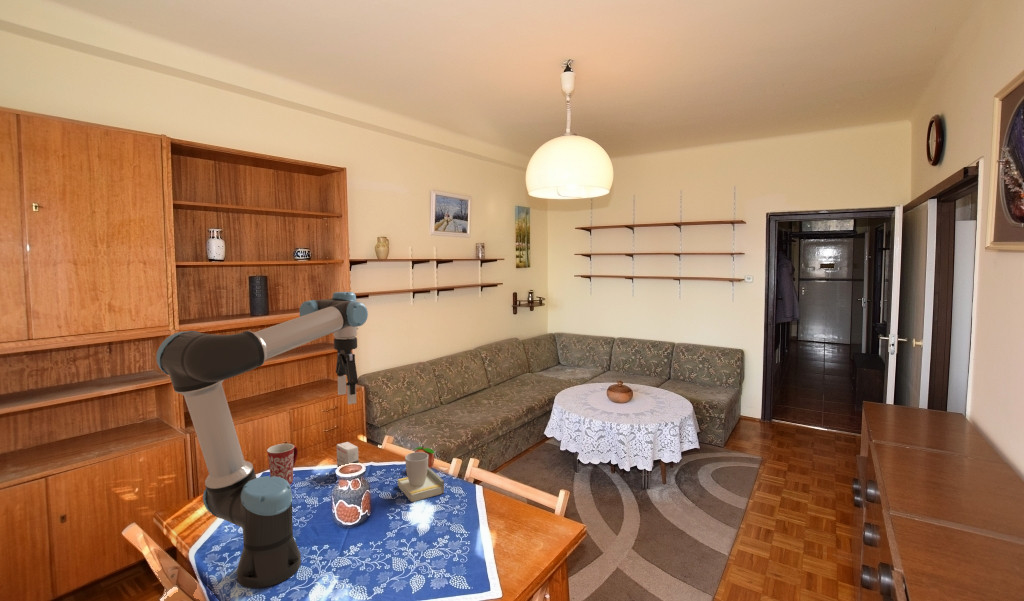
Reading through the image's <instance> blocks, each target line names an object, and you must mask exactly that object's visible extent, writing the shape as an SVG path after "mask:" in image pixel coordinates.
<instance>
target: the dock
mask: <svg viewBox="0 0 1024 601" xmlns="http://www.w3.org/2000/svg"><path fill="white" fill-rule="evenodd" d="M398 486H399V487H398ZM397 487H398V489H400V491H401V492H402V491H403V492H404V493H403V494H404V495H405V497H407V499H408V500H409V501H410V502H411V503H413V502H417V501H419V500H421V501H422V500H424V499H429V498H431V497H435V496H439V495H442V493H443V494H444V493H445V481H444V479H443V478H442V477H440V476H439V475H438V474H437V473H436V472H435V471H434V470H432V468H431V469H430V468H429V467H428V470H427V476H426V480H425V483H424V485H422V486H419V487H413V486H411V485H410V483H409V480H408V476H407V477H402V478H398V479H397Z"/></svg>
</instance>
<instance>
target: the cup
mask: <svg viewBox="0 0 1024 601" xmlns="http://www.w3.org/2000/svg"><path fill="white" fill-rule="evenodd" d="M404 460H405V471H406V476H407V477H408V480H409V483H410V485H411V486H413V487H419V486H422V485H424V483H425V480H426V476H427V470H428V454H427V453H424V452H415V451H414V452H411V453H408V454H406V455H405V457H404Z"/></svg>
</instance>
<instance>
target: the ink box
mask: <svg viewBox="0 0 1024 601" xmlns="http://www.w3.org/2000/svg"><path fill="white" fill-rule="evenodd" d="M349 463H360V462H359V447H358V446H357V445H355V444H353V443H351V442H349V441H346V442H341V443H337V444H336V466H337V467H339V466H341V465H345V464H349Z"/></svg>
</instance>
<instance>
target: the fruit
mask: <svg viewBox="0 0 1024 601" xmlns="http://www.w3.org/2000/svg"><path fill="white" fill-rule="evenodd" d="M412 450H415V451H414V452H424V453H427V454H428V467H429V468H430V469H431V470H432V468H433V466H434V464H435V456H434V454H435V450H433V449H432V448H429V447H424V444H423V445H422V446H417V447H415V448H413V449H412Z"/></svg>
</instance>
